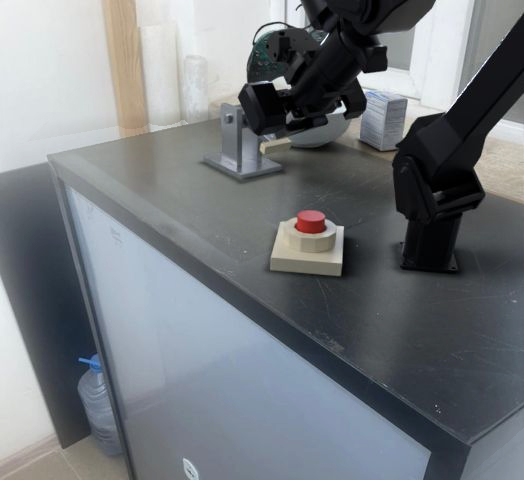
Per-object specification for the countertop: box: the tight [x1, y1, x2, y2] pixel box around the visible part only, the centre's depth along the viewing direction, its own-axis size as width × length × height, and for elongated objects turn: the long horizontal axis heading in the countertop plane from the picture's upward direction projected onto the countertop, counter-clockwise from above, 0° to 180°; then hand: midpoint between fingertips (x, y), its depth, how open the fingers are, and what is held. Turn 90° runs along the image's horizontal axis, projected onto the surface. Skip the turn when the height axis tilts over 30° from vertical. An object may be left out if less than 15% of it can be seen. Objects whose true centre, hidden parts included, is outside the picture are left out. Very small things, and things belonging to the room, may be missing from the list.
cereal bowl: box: [270, 101, 353, 148], centre depth 100 cm, size 17×17×7 cm
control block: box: [269, 216, 345, 277], centre depth 65 cm, size 10×8×4 cm
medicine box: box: [358, 89, 409, 152], centre depth 100 cm, size 8×4×9 cm, turn 22°
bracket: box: [202, 102, 283, 180], centre depth 88 cm, size 11×8×10 cm
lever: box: [233, 104, 292, 155], centre depth 84 cm, size 11×5×2 cm, turn 36°
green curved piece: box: [245, 3, 330, 83], centre depth 118 cm, size 20×6×20 cm, turn 94°
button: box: [297, 209, 326, 234], centre depth 64 cm, size 3×3×2 cm
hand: (277, 136), depth 81 cm, fingers closed
